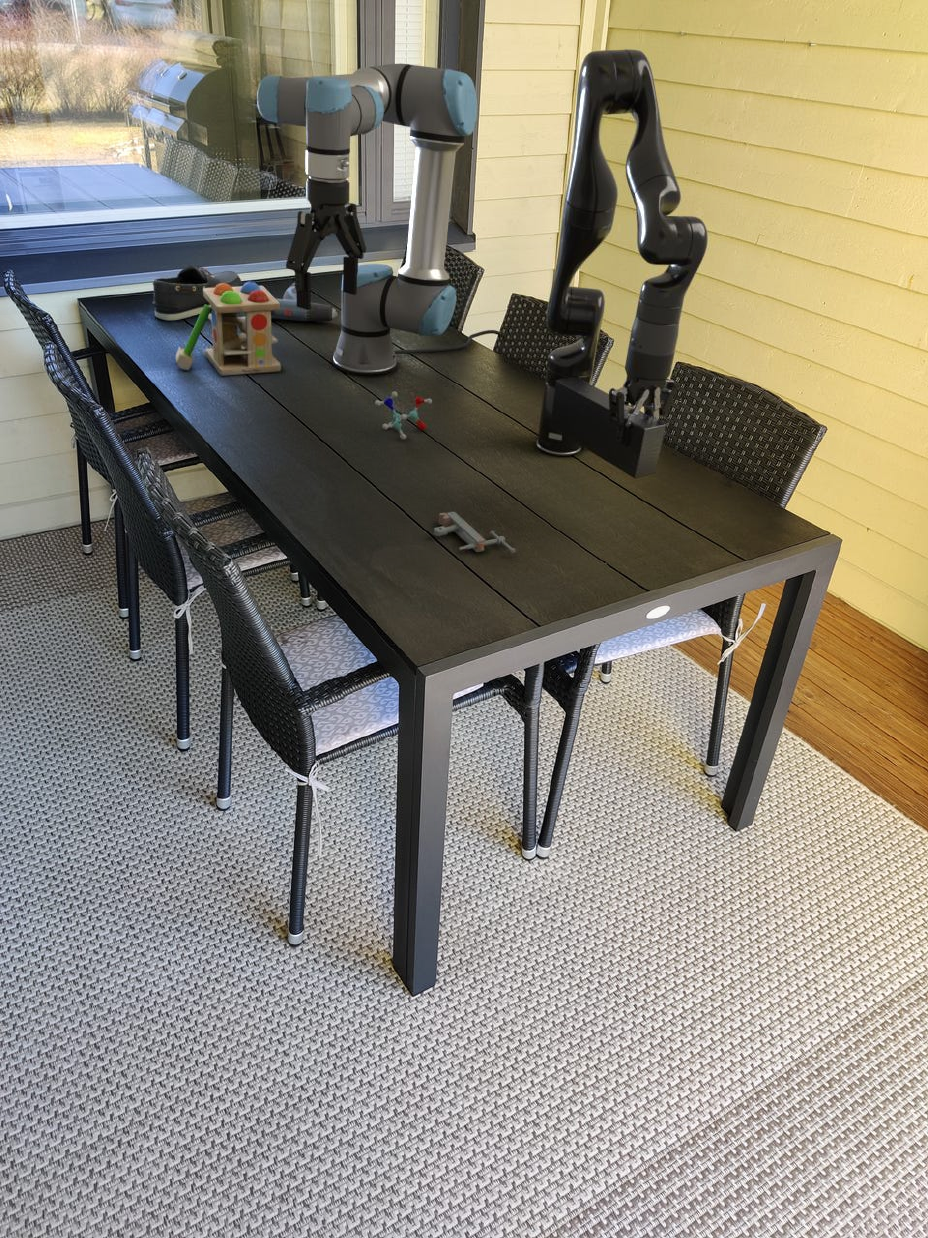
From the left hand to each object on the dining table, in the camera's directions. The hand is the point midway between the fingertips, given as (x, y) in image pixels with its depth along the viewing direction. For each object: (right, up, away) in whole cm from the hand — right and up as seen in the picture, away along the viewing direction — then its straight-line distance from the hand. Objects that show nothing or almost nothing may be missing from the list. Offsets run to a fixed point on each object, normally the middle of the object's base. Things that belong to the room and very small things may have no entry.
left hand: (327, 300), depth 183 cm
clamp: (+26, -46, -12) cm, 55 cm away
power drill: (-18, +24, +84) cm, 89 cm away
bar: (+50, -29, -7) cm, 58 cm away
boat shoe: (-46, +25, +82) cm, 97 cm away
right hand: (+55, -29, -14) cm, 64 cm away
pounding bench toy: (-31, 0, +47) cm, 56 cm away
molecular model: (+12, -20, +24) cm, 34 cm away
